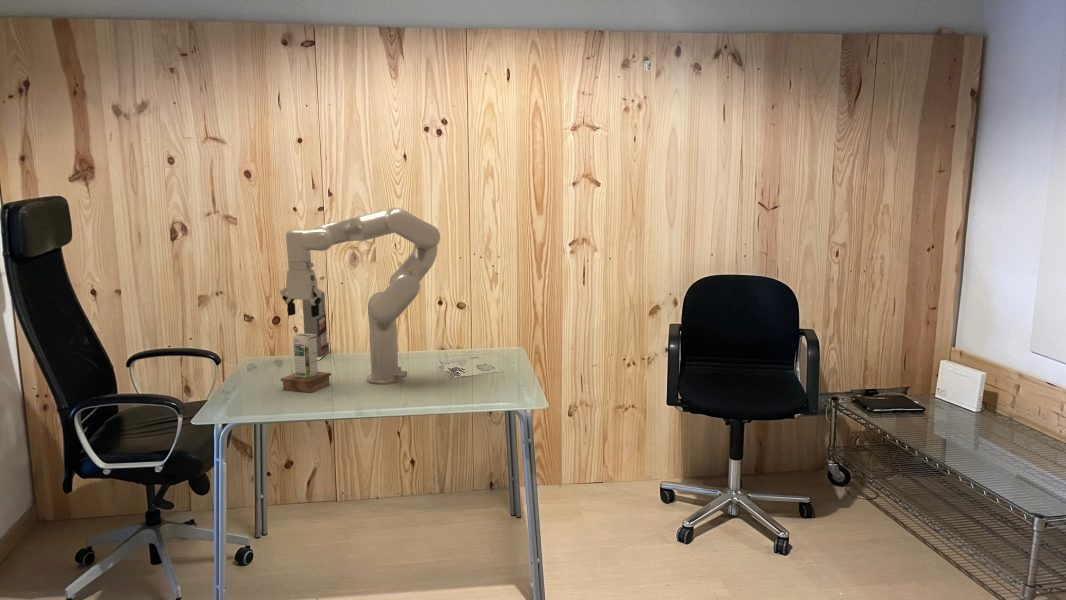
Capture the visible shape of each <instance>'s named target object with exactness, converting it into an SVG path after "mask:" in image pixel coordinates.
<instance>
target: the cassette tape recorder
mask: <svg viewBox="0 0 1066 600" xmlns="http://www.w3.org/2000/svg"><path fill="white" fill-rule="evenodd" d="M325 294H326V293H325V292H324V296H323V298H322V301H321V302H320V304H318V305H319V316H316V317H312V314H311V306H312V303H311V302H310V301H309V300H302V313H303V314H302V316H303V330H304V331H303V332H304V334H316V345H317V357H322V356H324V357H325V356H326V355H328V353H330V343H329V342H328V336H327V335H328V333H327V330H328V328H327V313H326V312H327V311H326V297H325V296H326V295H325ZM317 298H318V297H317Z"/></svg>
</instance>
